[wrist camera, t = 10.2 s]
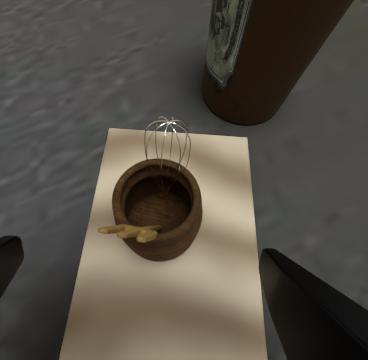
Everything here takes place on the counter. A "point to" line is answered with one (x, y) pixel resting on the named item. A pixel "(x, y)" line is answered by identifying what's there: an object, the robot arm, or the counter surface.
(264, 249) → the robot arm
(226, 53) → the olive oil
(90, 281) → the birch board
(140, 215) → the utensil holder
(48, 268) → the counter surface
